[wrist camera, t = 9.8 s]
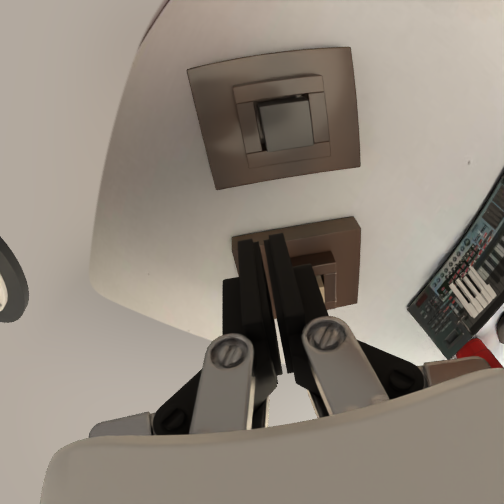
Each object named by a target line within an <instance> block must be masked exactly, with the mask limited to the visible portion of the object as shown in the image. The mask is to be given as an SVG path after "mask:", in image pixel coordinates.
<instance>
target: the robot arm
mask: <svg viewBox="0 0 504 504" xmlns="http://www.w3.org/2000/svg"><path fill="white" fill-rule="evenodd" d="M268 236H269V239H267V240H263V241H264V247H265V253H266V258H267V264H268V270H269V276H270V281H271V287H272V293H273V299H274V305H275V311H276V316H277V322H278V327H279V332H280V337H281V342H282V347H283V352H284V358H285V363H286V368H287V373H293V372H294V376H295V381H296V383H297V384H298V385H300V386H302V387H304V388H306V389H307V391H308V395H309V397H310V400H311V402H312V405H313V408H314V410H315V413H316V415H317V418H318V419H313V420H308V421H302V422H297V423H292V424H285V425H279V426H273V427H268V417H269V401H270V400H269V395H270V394H271V393H272V392H273V390H274V389H275V388H276V387H277V384H278V382H277V381H278V380H277V375H282V367H281V360H280V354H279V347H278V341H277V335H276V328H275V322H274V316H273V309H272V303H271V298H270V292H269V288H268V283H267V278H266V273H265V268H264V264H263V259H262V254H261V249H260V245H259V241H257V242H253V239H252V238H251V239H246V240H241V241H238V262H239V277H236V278H231V279H225V280H223V335H222V336H220V337H218V338H216V339H215V340H214V341H212V342H211V344H210V345H209V346H208V348H207V351H206V353H205V358H204V363H203V368H202V369H201V370H200V371H199V372H198V373H197V374H196V375H195V376H194V377H193V378H192V379H191V380H189V382H187V383H186V384H185V385H184V386H183V387H182V388H181V389H180V390H179V391H178V392H176V393H175V394H174V395H173V396H172V397H171V398H170V399H169V400H168V401H166V402H165V403H164V404H163V405H162V406H161V407H160V408H159V409H158V410H157V412H156V413H152V414H150V413H149V412H144V413H141V414H136V415H132V416H127V417H123V418H119V419H114V420H110V421H105V422H101V423H98V424H96V425H95V426H94V427H93V428H92V430H91V431H90V433H89V438H86V439H83V440H79V441H76V442H73V443H71V444H69V445H66V446H64V447H63V448H61V449H60V450H58V451H57V452H56V453H55V454H54V456H53V457H52V459H51V461H50V463H49V466H48V468H47V471H46V475H45V479H44V483H43V487H42V493H41V500H40V504H504V368H491V366H490V364H489V363H488V362H487V361H486V360H485V359H484V358H481V357H479V356H471V357H464V358H457V359H450V360H442V361H434V362H425V363H424V365H423V366H416V365H414V364H412V363H411V362H408V361H406V360H403V359H401V358H399V357H396V356H394V355H391V354H389V353H387V352H384V351H382V350H380V349H377V348H375V347H373V346H370V345H368V344H366V343H363V342H361V341H359V340H356V338H355V336H354V334H353V333H352V331H351V329H350V328H349V326H348V325H347V324H346V323H345V322H344V321H343V320H341V319H339V318H336V317H333V316H328V312H327V309H326V306H325V303H324V300H323V297H322V294H321V291H320V288H319V285H318V282H317V280H316V277H315V274H314V271H313V268H312V265H311V264H310V263H309V264H304V265H299V266H294V267H292V263H291V259H290V256H289V252H288V248H287V245H286V241H285V238H284V234H283V232H282V233H277V234H272V235H268ZM7 298H8V294H7V289H6V286H5V282H4V280H3V278H2V276H1V274H0V311H2V310H3V308H4V307H5V305H6V303H7Z"/></svg>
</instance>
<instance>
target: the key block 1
mask: <svg viewBox="0 0 504 504" xmlns="http://www.w3.org/2000/svg"><path fill="white" fill-rule="evenodd" d="M187 74H188V78H189V83H190V87H191V91H192V95H193V99H194V103H195V108H196V112H197V116H198V120H199V124H200V128H201V132H202V136H203V140H204V144H205V148H206V152H207V156H208V160H209V164H210V168H211V172H212V176H213V180H214V184H215V188H216V190H220V189H225V188H231V187H236V186H241V185H246V184H252V183H257V182H263V181H269V180H275V179H281V178H287V177H293V176H299V175H306V174H312V173H319V172H326V171H333V170H341V169H348V168H356V167H360V142H359V125H358V111H357V99H356V89H355V79H354V70H353V62H352V54H351V48H350V47H332V48H315V49H303V50H293V51H283V52H275V53H268V54H261V55H254V56H248V57H242V58H237V59H231V60H226V61H221V62H216V63H212V64H207V65H203V66H199V67H195V68H191V69H187ZM296 97H304V98H306V99H307V100H309V105H310V113H311V121H312V129H313V138H314V146H307V147H300V148H293V149H287V150H280V151H274V152H267V150H266V147H265V142H264V136H263V131H262V125H261V120H260V114H259V109H258V103H261V102H268V101H274V100H281V99H288V98H296Z"/></svg>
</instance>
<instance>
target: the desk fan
mask: <svg viewBox="0 0 504 504" xmlns="http://www.w3.org/2000/svg"><path fill="white" fill-rule="evenodd" d="M497 332H498V337H499V340H500V342H501V343H502V344H504V315H503V316H502V318H501V320H500V321H499V323H498V326H497Z"/></svg>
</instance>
